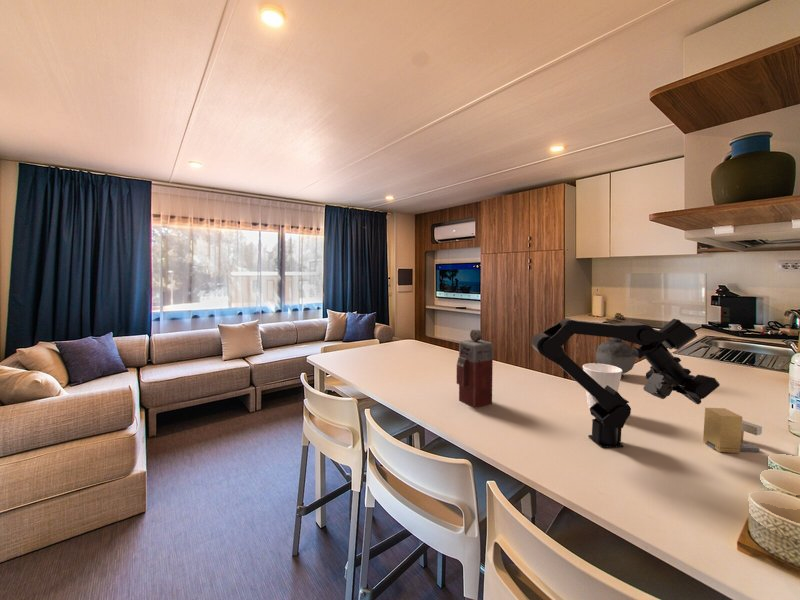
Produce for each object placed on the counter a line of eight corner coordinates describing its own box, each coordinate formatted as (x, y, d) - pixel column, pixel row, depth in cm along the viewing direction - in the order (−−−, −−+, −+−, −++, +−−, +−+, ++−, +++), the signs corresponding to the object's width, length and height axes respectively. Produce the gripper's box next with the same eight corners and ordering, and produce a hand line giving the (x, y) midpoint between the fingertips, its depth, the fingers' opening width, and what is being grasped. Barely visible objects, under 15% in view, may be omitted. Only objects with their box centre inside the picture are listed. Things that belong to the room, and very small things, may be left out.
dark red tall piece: (453, 401, 127) (454, 329, 125) (476, 396, 133) (476, 326, 130) (469, 409, 119) (469, 332, 117) (492, 403, 125) (493, 330, 123)
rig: (714, 449, 91) (715, 428, 90) (690, 434, 100) (691, 414, 99) (769, 452, 89) (770, 430, 89) (740, 436, 98) (741, 416, 98)
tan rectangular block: (719, 451, 89) (721, 415, 89) (703, 441, 95) (705, 407, 94) (739, 452, 89) (742, 416, 88) (722, 442, 94) (724, 408, 94)
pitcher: (591, 374, 160) (593, 312, 158) (624, 371, 164) (626, 311, 162) (609, 381, 150) (612, 315, 147) (644, 377, 154) (647, 313, 151)
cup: (584, 416, 113) (585, 370, 111) (578, 403, 124) (579, 361, 122) (625, 421, 108) (627, 374, 107) (615, 408, 120) (617, 364, 118)
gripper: (617, 371, 101) (651, 410, 101) (664, 387, 83) (706, 435, 82) (646, 348, 101) (679, 387, 101) (699, 358, 83) (741, 406, 82)
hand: (698, 403), depth 92 cm, fingers closed
